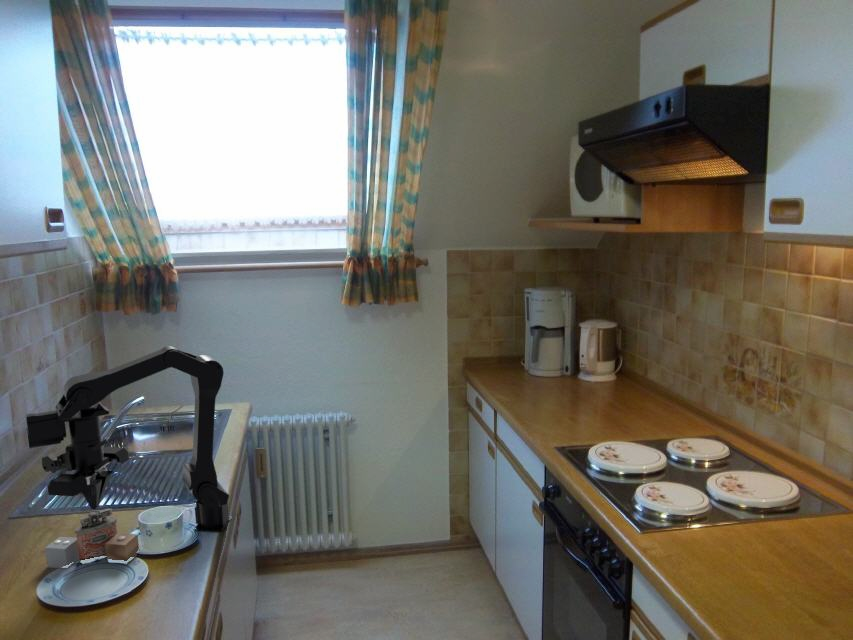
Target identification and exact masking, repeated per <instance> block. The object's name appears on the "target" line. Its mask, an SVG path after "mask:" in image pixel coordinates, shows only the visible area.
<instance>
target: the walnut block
mask: <svg viewBox="0 0 853 640" xmlns="http://www.w3.org/2000/svg"><path fill="white" fill-rule="evenodd" d="M105 547H106V555H107V558H106V560H107V559H112V560H124V561H127V560H128V559H129V558H130V557H135V558H137V556H138V555H137V554H136V552H137V551H138V549H139V550H140V545H139V536H138V534H137V533H123V532H117V534H116V535H115V536H114V537H113V538H111V539H110V540H109V541H108V542H107V543H105Z"/></svg>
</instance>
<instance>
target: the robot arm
mask: <svg viewBox="0 0 853 640" xmlns="http://www.w3.org/2000/svg"><path fill="white" fill-rule="evenodd" d="M170 368H173V369H175V370H177V371H180V372H182V373H185V374H187V375H189V376H190V382H191V386H192V389H193V393H194V414H193V416H194V417H193V439H192V440H193V441H192V442H193V443H192V456H191V459H190V462H189V463H183V464H182V468H183V476H182V479H181V481H182V482H183V484H185V487H186V488H187V489H188V491H189V492H190V494H191V495H192V497H193V498H194V499H195V500H196V501H195V507H194V514H195V524H196V526H195V527H194V528H196V529H199V530H198V531H200V532H201V531H203V532H218V533H220V532H222V531H223V530H224V529H225V528H226V527H227V526H228V524H229V523H230V522H231V521H232V520H233V516H231V515H229V503H228V502H229V498H230V494H229V493H228V492H227V491H226V490H225V489H224V487H223V486H222V484H220V482H219V481H218V476H217V471H216V467H215V463H214V435H215V413H216V400H217V399H216V398H217V396H218V394H219V392H220V390H221V386H222V383H223V382H222V381H223V377H224V374H225V373H224V368H223V366H222V364H220V362H218V361H217V360H216V359H214V358H213V357H211V356H209V355H207V354H206V355H205V354H200V355H198V356H197V355H194V354H193V353H191V352H190V353H189V352H186V351H183V350H180V349H177V348H176V347H174V346H172V345H171V346H170V345H167V346H166V345H165V346H163V347H162V348H161V349H159V350H156V351H154V352H151V353H148V354H147V355H143V356H141V357H138V358H136V359H133V360H131V361H129V362H126V363H123V364H120V365H117V366H115V367H113V368H111V369H107V370H103V371H95V372H94V371H93V372H88V373H84V374H79V375H74V376H72V377H70V378H69V379H67V381H66V382H65V384H64V386H63V390H62V391H63V394H62V396H61V397H60V399H59V401H58V402H57V404H56V405H55V407H54V409H55V410H50V411H44V412H39V413H38V412H37V413H35V412H33V413H27V414H26V415H25V421H26V428H25V429H26V430H25V431H26V437H27V443H28V445H27V446H28V449H29V450H33V449H38V448H43V447H48V446H53V445H58V444H59V445H60V444H62V441H64V440H65V439H64V438H67V428H66V422H68V431H69V439H70V440H69V441H70V444H68V445H66V446H65V449H64V450H62V451H61V450H60V451H58V452H56V453H53V452H52V453H50V454H47V455H44V456H42V457H41V467H42V469H43V471H44V472H46V473H48V472H49V473H51V474H56V472H59V471H61V470H64V469H65V471H67V472H73V471H75V473H61V474H59V475H57V476H56V477H54V478H52V479H51V480H50V481H49V482H48V483H47V484H46V487H47V488H46V490H47V494H48V496H59V497H60V496H63V497H74V496H78V495H79V494H82V495H83V498H84V500H85V501H86V502H87V504H88V506H89V507H90V509H91V510H97V509H98V508H99V507H100V503H101V502H102V498H103V495H104V494H105V491H106V488H107V486H108V485H109V482H110V480H111V477H112V475H113V474H114V471H113V470H108V467H106V466H107V465H109V464H111V462H113V461H114V460H116V463H117V464H119V465H123V464H124V463H126V462H127V461H129V451H128V450H127V449H126V448H124V447H116V446H105V445H107V444H108V441H107V438H102V431H101V429H102V428H101V421H100V417H102V416H106V415H110V411H109V408H108V407H107V406H105V405H103V404H102V403H101V402H102V401H103V400H105V399H106V398H107V397H108V396H110V395H111V394H112V393H114V392H115V391H117V390H119V389H121V388H123V387H127V386H128V385H130V384H133V383H135V382H136V383H137V382H138V381H141V380H143V379H146V378H148V377H151V376H153V375H155V374H158V373H160V372H162V371H165V370H167V369H170Z"/></svg>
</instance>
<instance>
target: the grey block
mask: <svg viewBox="0 0 853 640" xmlns="http://www.w3.org/2000/svg"><path fill="white" fill-rule="evenodd" d="M44 551H45V559H46V565H47V568H53V569H61V568H60V567H63V566H66V565H69V564H70V563H72V562H75V561H76V562H78V561H79V559H78V558H79V551H78V543H77V537H73V536H72V537H70V536H59V537H57V538H55V540H53V541H51V543H49V544H48V545H47V546H45V548H44ZM76 562H75V563H76Z"/></svg>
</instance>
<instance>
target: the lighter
mask: <svg viewBox="0 0 853 640" xmlns="http://www.w3.org/2000/svg"><path fill="white" fill-rule="evenodd" d="M112 515H113V509H112V508H105V509H102V510H99V511H98V512H95V511H90V512H89V513H88V515H84V516H81V517H80V518H79V519H80V520H79V521H80V522H79V523H80V524H81V525H78V526H77V527H75V528H74V534H76V538H77V543H78V551H79V558H78V559H79V560H78V562H79V561H81V560H85V559H90V558H94V557H100V556H107V555H106V547H105V543H107V542H108V541H109V540H110V539H111V538H113V537H114V536H115V535H116V534H117V533H118V529H117V522H118V521H117V520H118V519H117V517H116V516H112Z"/></svg>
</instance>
